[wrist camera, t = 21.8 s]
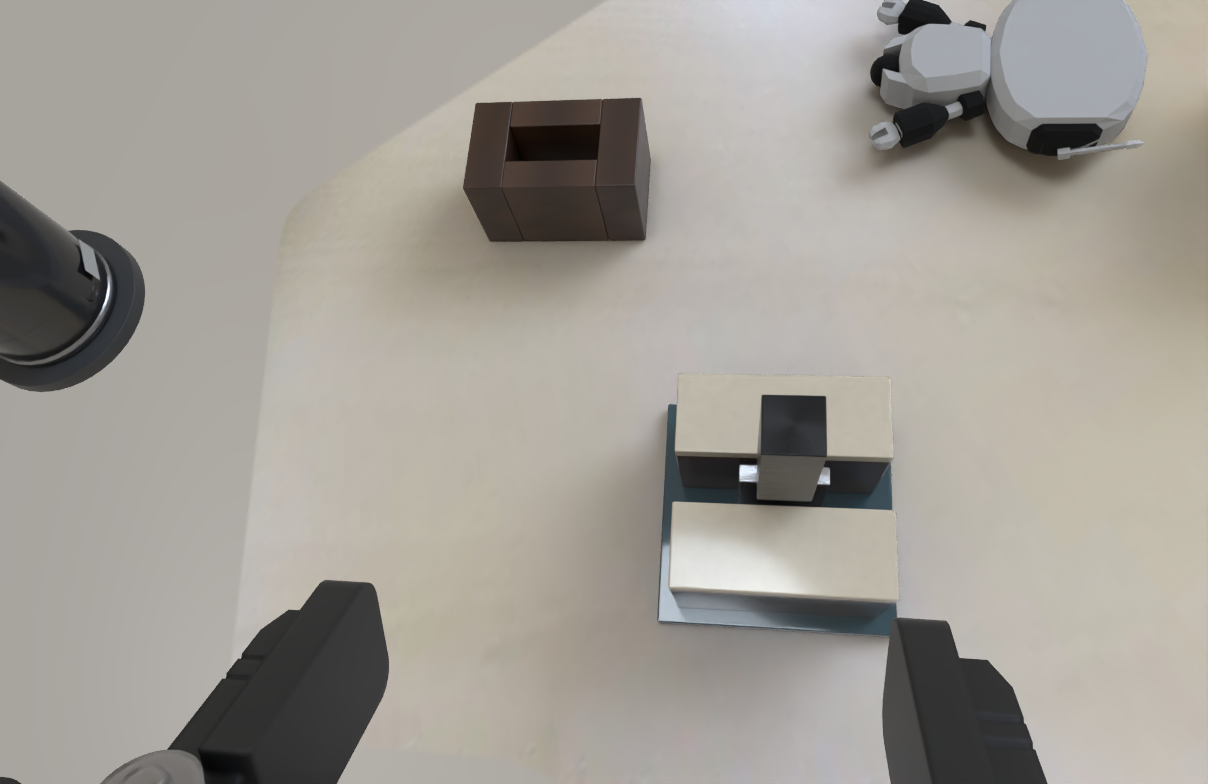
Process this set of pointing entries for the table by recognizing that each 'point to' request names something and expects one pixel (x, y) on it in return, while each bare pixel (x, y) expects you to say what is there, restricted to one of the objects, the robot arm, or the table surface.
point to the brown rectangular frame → (559, 170)
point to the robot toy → (1014, 74)
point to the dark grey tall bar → (788, 454)
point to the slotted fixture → (778, 513)
